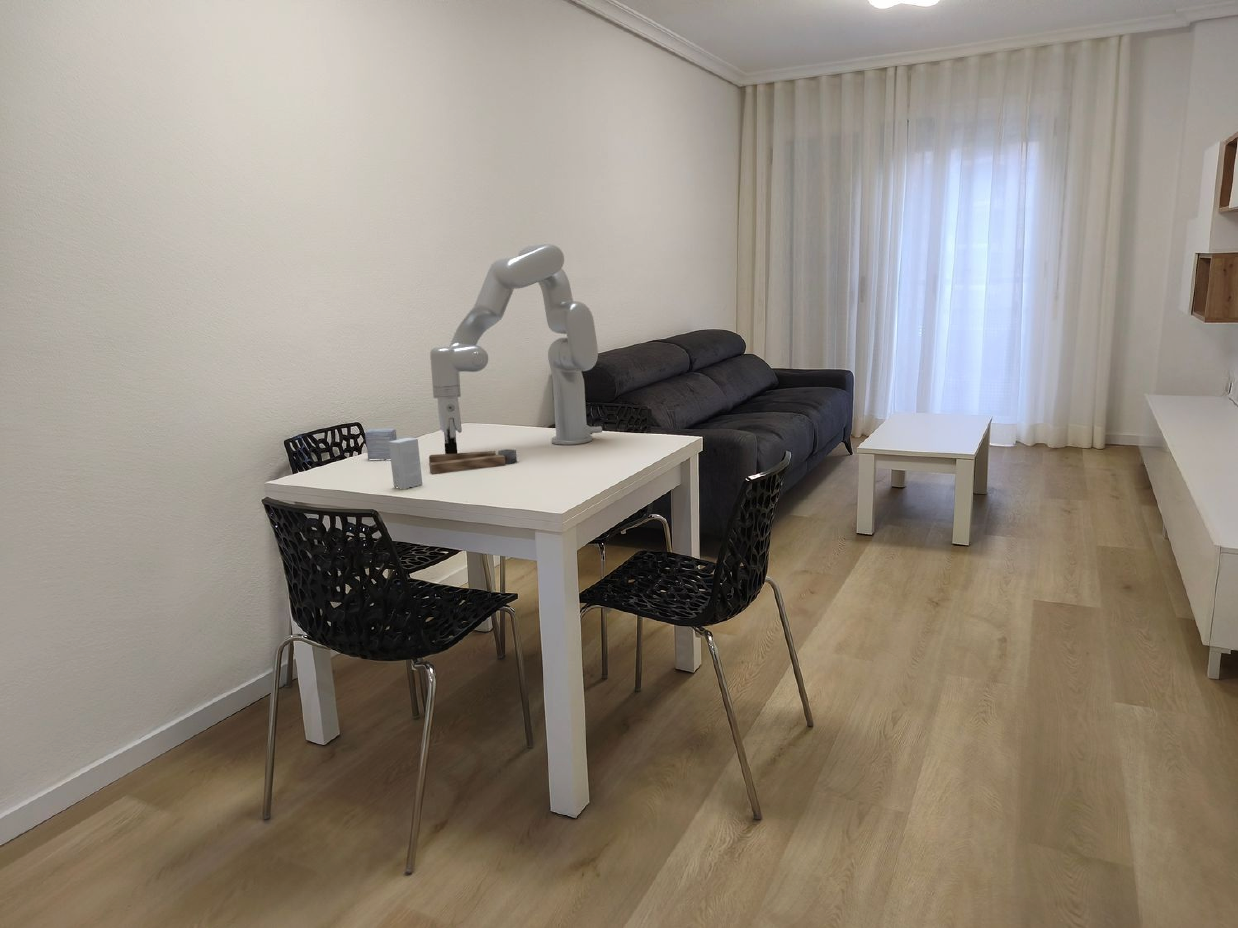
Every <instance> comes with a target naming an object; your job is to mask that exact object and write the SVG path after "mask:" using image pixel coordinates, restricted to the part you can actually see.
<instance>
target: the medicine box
mask: <svg viewBox="0 0 1238 928" xmlns="http://www.w3.org/2000/svg"><path fill="white" fill-rule="evenodd" d="M364 435H365V445H366V452H367V460H368V459H391V458H390V449H389V441H394V440H398V438H397V429H396V428H376V429H375V428H371V429H368V430H367V431H365V432H364Z"/></svg>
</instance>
